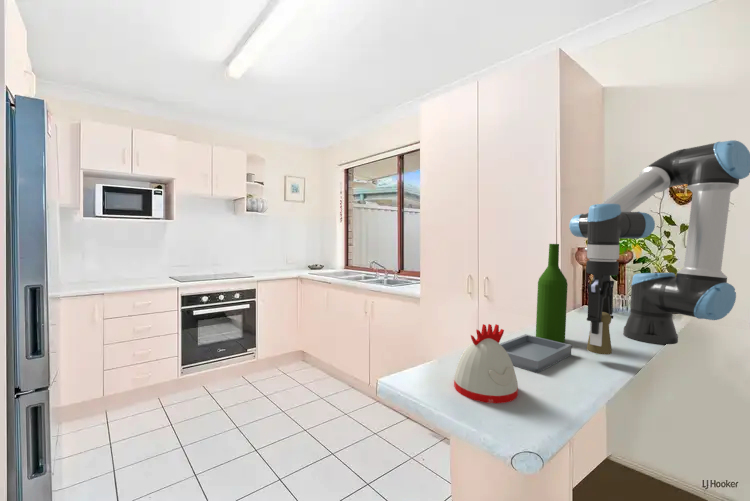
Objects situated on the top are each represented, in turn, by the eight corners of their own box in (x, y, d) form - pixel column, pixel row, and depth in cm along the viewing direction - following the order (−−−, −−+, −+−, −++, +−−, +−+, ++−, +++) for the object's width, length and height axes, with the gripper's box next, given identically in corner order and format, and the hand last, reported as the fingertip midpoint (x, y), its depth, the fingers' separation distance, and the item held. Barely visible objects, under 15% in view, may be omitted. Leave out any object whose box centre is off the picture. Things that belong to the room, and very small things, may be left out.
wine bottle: (559, 336, 124) (563, 243, 123) (569, 344, 116) (573, 244, 114) (532, 335, 126) (536, 243, 124) (539, 342, 117) (543, 244, 116)
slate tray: (525, 343, 116) (525, 334, 116) (571, 354, 106) (571, 344, 106) (488, 358, 102) (488, 347, 102) (537, 373, 91) (537, 361, 91)
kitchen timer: (531, 399, 77) (534, 330, 76) (475, 407, 73) (477, 334, 72) (492, 374, 90) (494, 315, 89) (443, 379, 86) (445, 318, 86)
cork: (616, 355, 96) (617, 315, 96) (591, 353, 98) (592, 313, 97) (606, 348, 102) (607, 310, 102) (583, 346, 104) (584, 309, 103)
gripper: (598, 257, 107) (595, 333, 109) (574, 261, 95) (572, 346, 97) (628, 259, 102) (624, 339, 103) (607, 263, 90) (603, 353, 91)
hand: (599, 342), depth 100 cm, fingers closed on cork, 5 cm apart
